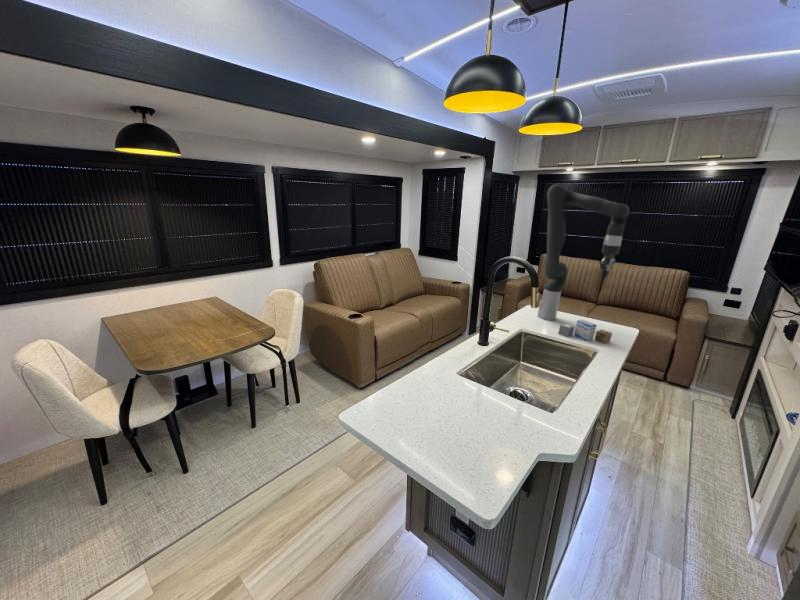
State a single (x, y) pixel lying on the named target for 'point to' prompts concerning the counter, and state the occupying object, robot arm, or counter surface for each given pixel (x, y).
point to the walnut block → (603, 336)
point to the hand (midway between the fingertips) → (604, 277)
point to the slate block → (566, 330)
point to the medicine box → (584, 330)
